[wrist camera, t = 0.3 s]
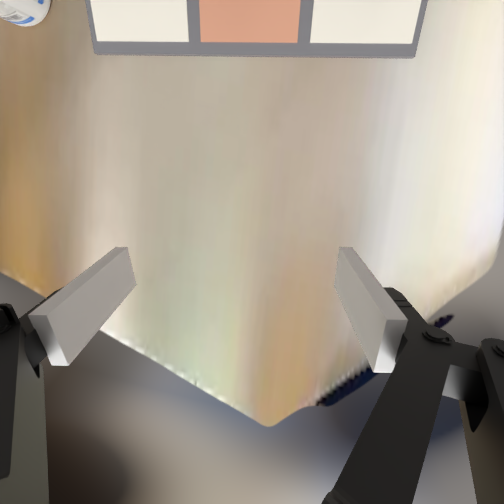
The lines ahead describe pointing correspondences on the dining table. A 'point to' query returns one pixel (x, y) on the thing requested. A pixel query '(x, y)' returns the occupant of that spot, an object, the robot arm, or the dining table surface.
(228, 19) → the game board
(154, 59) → the dining table surface
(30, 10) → the supplement tub
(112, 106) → the dining table surface
